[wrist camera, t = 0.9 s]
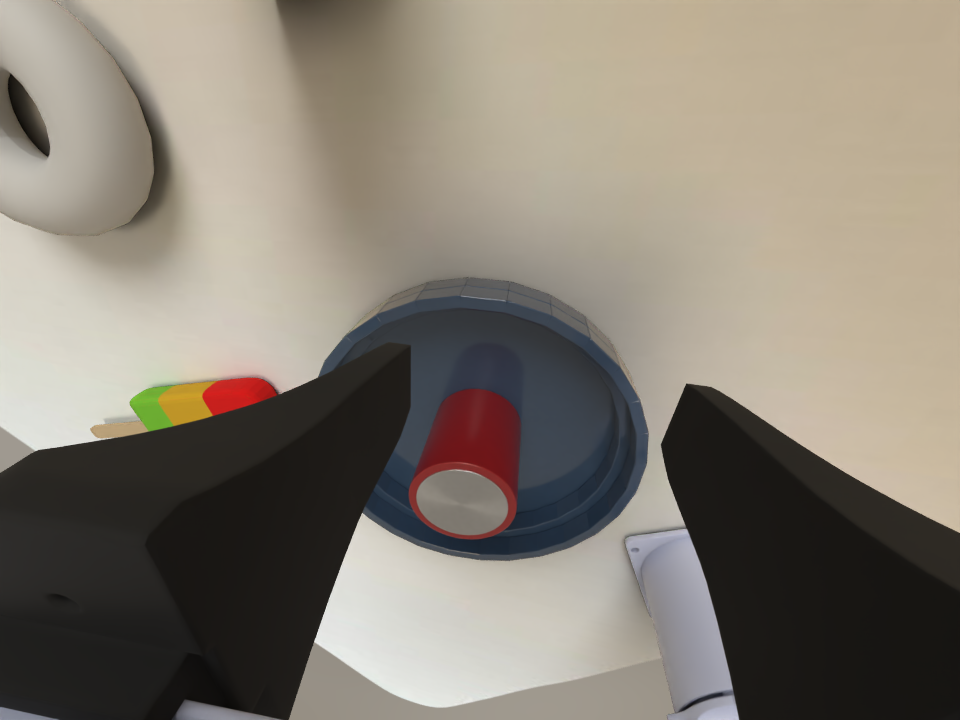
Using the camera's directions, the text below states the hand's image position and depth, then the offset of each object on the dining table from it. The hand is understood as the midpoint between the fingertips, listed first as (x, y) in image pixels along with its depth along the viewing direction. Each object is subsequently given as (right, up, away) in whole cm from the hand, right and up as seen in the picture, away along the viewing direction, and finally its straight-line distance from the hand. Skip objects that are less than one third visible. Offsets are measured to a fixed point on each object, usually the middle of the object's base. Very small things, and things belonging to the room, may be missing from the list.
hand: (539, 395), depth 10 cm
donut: (-21, +12, +8) cm, 26 cm away
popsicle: (-21, -3, +17) cm, 27 cm away
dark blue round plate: (-2, -3, +14) cm, 14 cm away
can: (-2, -3, +13) cm, 14 cm away
